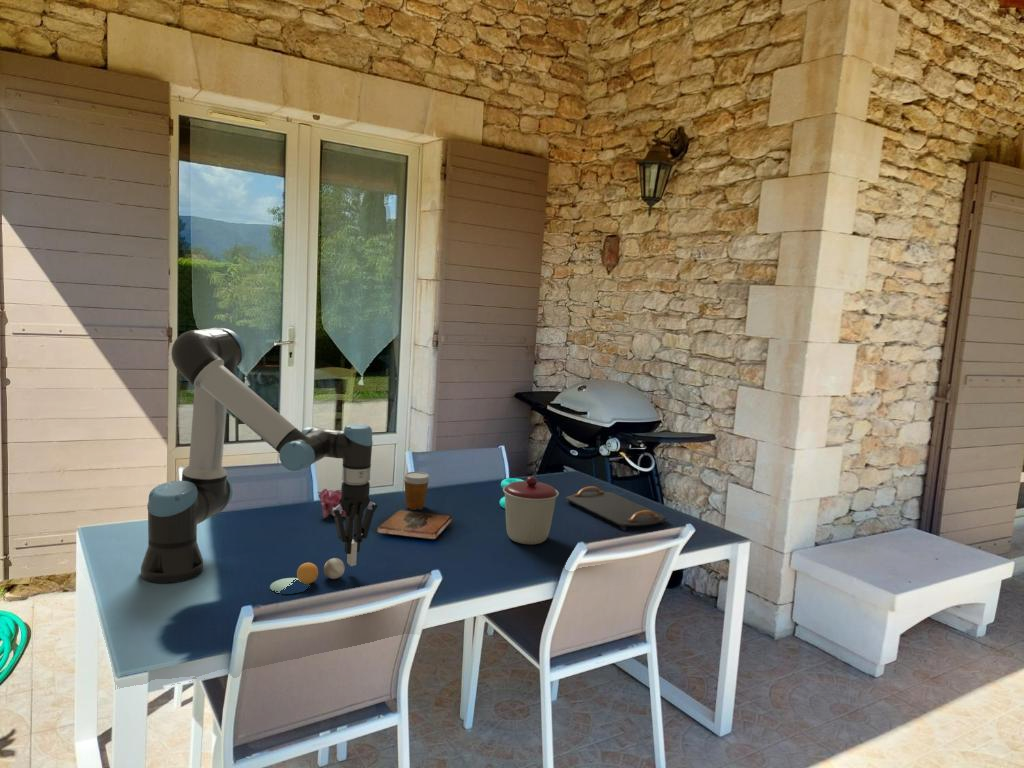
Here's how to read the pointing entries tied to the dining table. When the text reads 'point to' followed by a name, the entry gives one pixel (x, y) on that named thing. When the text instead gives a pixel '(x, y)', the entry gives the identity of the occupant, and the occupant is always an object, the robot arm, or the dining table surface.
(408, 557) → the dining table surface
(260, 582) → the dining table surface
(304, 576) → the orange ball
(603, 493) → the serving board
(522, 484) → the canister
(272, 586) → the pale green flat disc
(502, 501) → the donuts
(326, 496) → the flower
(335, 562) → the ivory ball
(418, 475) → the disposable coffee cup
